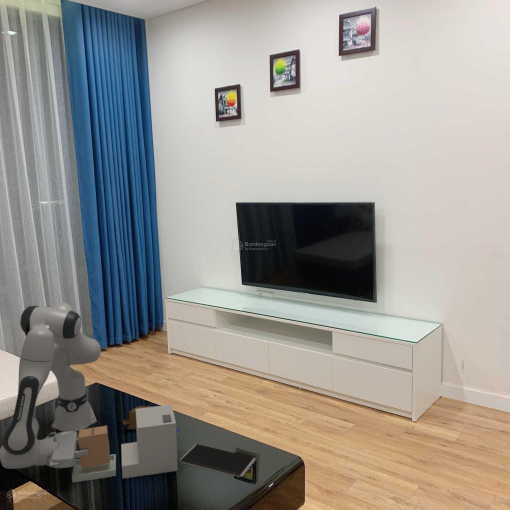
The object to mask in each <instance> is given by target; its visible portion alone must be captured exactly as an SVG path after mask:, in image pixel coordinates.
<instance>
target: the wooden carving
mask: <svg viewBox="0 0 510 510" xmlns="http://www.w3.org/2000/svg"><path fill="white" fill-rule="evenodd" d="M147 407H151V406H150V405H149V404H147V405H139V406H136V407H133V408H132V409H131V410H128V411H127V414H126V416H127V417H126V418H125V419H123V420H121V423H122V425H124V426H125V428H126V429H129V430H136V409H138V408H147Z"/></svg>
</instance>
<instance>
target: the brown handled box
mask: <svg viewBox="0 0 510 510" xmlns="http://www.w3.org/2000/svg"><path fill="white" fill-rule="evenodd" d="M108 430H109V429H108V425H103V426H96V427H93V426H92V427H90V428H85V429H82V430H79V431H78V435H77V437H78V440H79V445H78V449H79V450H78V451H81V450H83V449H86V448H88V450H89V453H88V455H83V456H81V457H79V459H81V468H85V467H91V466H97V465H102V464H108V463H110V455H111V454H110V444H109V431H108Z"/></svg>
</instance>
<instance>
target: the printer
mask: <svg viewBox="0 0 510 510" xmlns="http://www.w3.org/2000/svg"><path fill="white" fill-rule="evenodd" d="M176 429H177V422H176V417H175V413H174V410H173V404H167V405H156V406H150V407H147V408H138V409H136V429H135V430H136V441H135V442H127V443H121V445H120V446H121V471H122V472H121V473H122V474H121V475H122V476H121V477H122V479H123V480H124V478H125V479H131V478H136V477H137V476H138V477H143V476H144V475H145V476H150V475H156V474H163V473H164V474H165V473H171V472H177V471H178V446H177V445H178V441H177V438H178V437H177V434H176ZM145 476H144V477H145ZM130 477H131V478H130ZM138 477H137V478H138Z"/></svg>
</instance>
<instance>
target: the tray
mask: <svg viewBox="0 0 510 510" xmlns="http://www.w3.org/2000/svg"><path fill="white" fill-rule="evenodd" d="M112 476H113V477H116V476H117V454H116V453H115V454H110V463H108V464H102V465H97V466H91V467H85V468H81V459H80V458H75V462H74V466H72V473H71V481H72V483H73V484H74V483H79V482H86V481H92V480H99V479H105V478H106V479H107V478H112Z"/></svg>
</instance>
